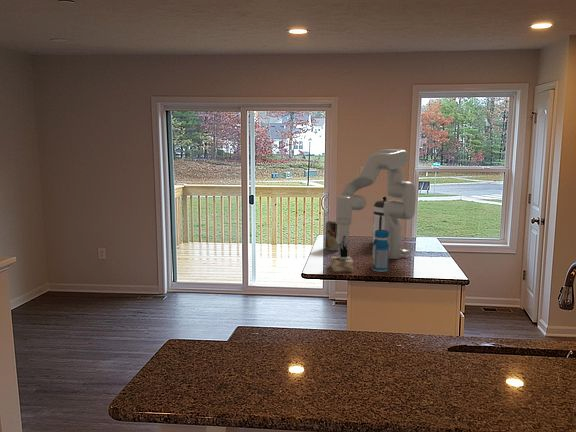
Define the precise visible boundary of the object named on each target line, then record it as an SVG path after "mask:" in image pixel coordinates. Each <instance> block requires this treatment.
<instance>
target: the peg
mask: <svg viewBox="0 0 576 432" xmlns="http://www.w3.org/2000/svg"><path fill="white" fill-rule="evenodd" d="M341 249H342V248H341V245H338V251H337V257H338V260H347V257H348V256H347V257H341Z"/></svg>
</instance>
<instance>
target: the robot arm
mask: <svg viewBox="0 0 576 432" xmlns="http://www.w3.org/2000/svg"><path fill="white" fill-rule="evenodd" d="M409 161H410V154H409V152H408V151H406V150H405V149H392V148H389V149H388V148H385V149H381V150H380V151H379V152H374V153H373V152H372V154H370V155H369V156H368V158H367V161H366V162H365V164H364V165H363V168H362V169H361V171H360V173H359V175H358V176H356V177H354V178H353V179H352V180H351V181H350V182H348V183H347V184H346V185H345V187H344V188H343V190H342V192H341V193H340V195H339V196H338V197H337V196H336V197H337V198H336V209H335V211H336V212H335V215H336V216H335V222H336V224H337V235H336V241H337V243H338V244H339V245H341V248H342V249H341V257H348V250H349V249H348V245H349V237H350V225H352V211H361V210H363V209H365V208H366V206H367V200H366V198H365V197H364V196H362V195H358V194H355V193H356V192H358V191H359V190H361V189H363V188H364V189H365V188H367V187H370V186H372V185H374V184H375V183H376V180H377V178H378V176H379V175H380V173H381V171H382V170H383V171H384V170H385V171H386V193H387V196H388V197H390V198H394V199H390V200H389V199H388V200H386V201H387V202H386V203H385V204H384V207H383V211H384V221H385V223H384V230H387V231H389V237H388V238H387V239H388V241H389V244H390V246H389V249H390V251H389V260H400V259H402V258H403V257H404V255H405V254H407V255H409V254H410V250H408V249H407V250H406V249H402V248H401V247H402V231H403V225H402V220H406V221H407V220H408V221H409V220H411V219H413V218H414V216H415V213H416V201H417V199H416V196H417V190H416V186H415V184H414V183H412V181H411V182H410V181H406V180H405V181H404V170H403V167H405V166H406V165H407V164H408V163H409ZM396 199H399V200H396Z"/></svg>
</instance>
